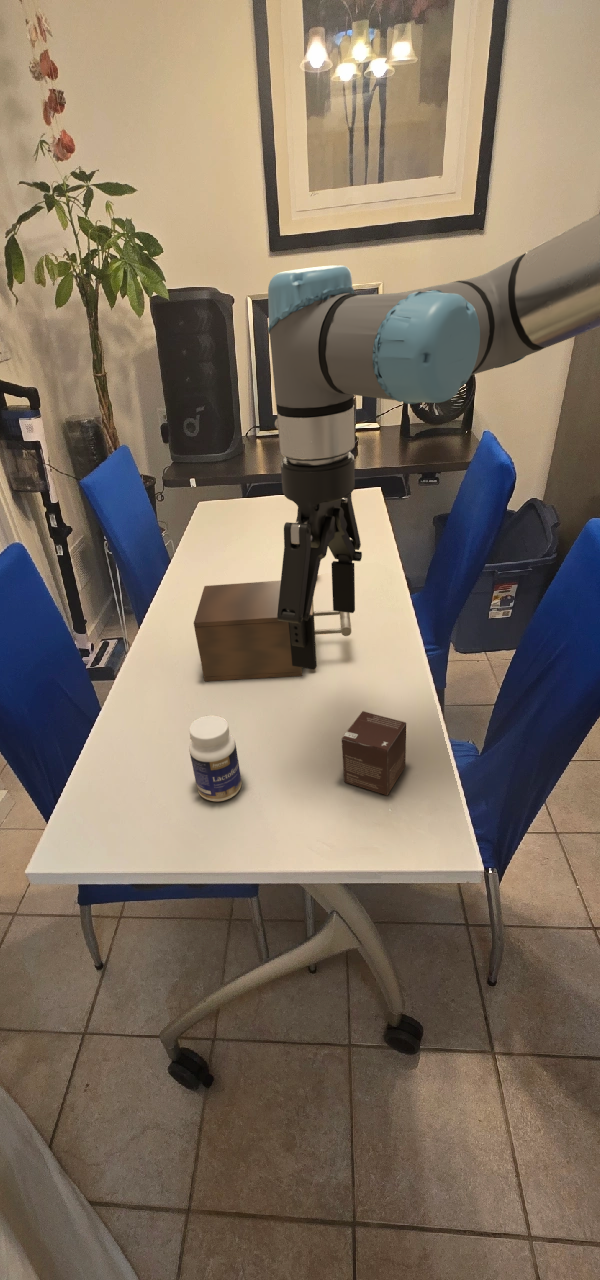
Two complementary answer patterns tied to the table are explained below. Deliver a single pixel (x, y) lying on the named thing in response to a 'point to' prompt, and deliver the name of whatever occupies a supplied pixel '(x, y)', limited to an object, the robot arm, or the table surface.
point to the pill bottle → (214, 758)
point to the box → (374, 752)
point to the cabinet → (243, 633)
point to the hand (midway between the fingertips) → (325, 636)
